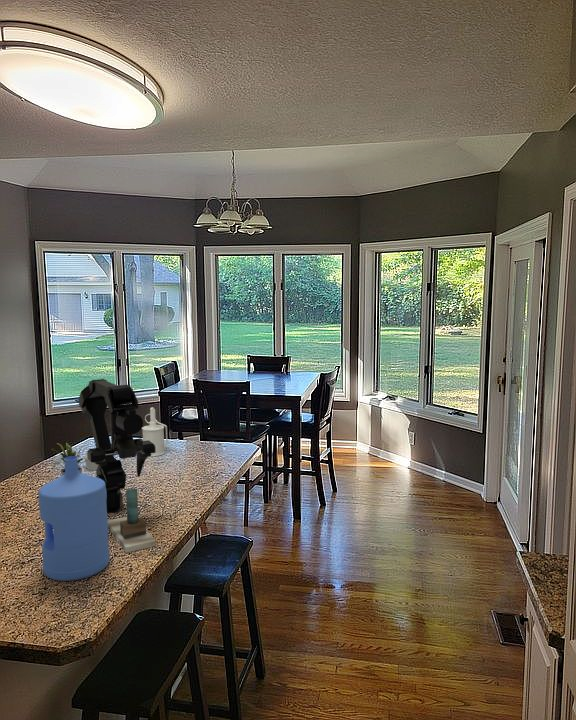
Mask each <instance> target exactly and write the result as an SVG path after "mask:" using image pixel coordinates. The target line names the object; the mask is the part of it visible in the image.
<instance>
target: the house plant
mask: <svg viewBox="0 0 576 720" xmlns="http://www.w3.org/2000/svg"><path fill="white" fill-rule="evenodd" d="M56 444H57V445H58V446H60V449H61V450H62V452H59V455H60V456H61V457H60V458H59V460H62V461H63V462H61V461H57V462H54V464H53V465H52V467H53V466H56V465H57V464H58V465H60V466H62V465H61V464H63V465H64V466H62V467H63V468H62V469H61V470H60V474H61V476H63V475H64V474H65V460H64V458H66V457H70V456H77V457H78V465H79V466H78V471H79V473H82V474H83V472H82V471H83V467H82V466H81V464H83V463H84V462H85V459H84V457H83V458H79V457H80V456H82V455H83V454H82V453H83V452H84V451H85V450H86V449H88V448H90V447H91V446H87V447H85V448H84V449H83V450H82V448H83V446H84V445H81V447H80V448H79V450H78V452H77V451H73V448H72V447H73V445H69V444H68V442H66V443H65V448H66V449H65V448H64V446H63V445H62V444H60V443H57V442H56ZM81 450H82V451H81ZM52 451H53V452H56V454H58V450H56V449H53V448H52ZM79 453H80V454H79ZM83 460H84V461H83ZM86 461H87V460H86ZM79 463H81V464H79ZM85 463H86V462H85Z"/></svg>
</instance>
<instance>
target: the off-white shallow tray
mask: <svg viewBox="0 0 576 720" xmlns="http://www.w3.org/2000/svg"><path fill="white" fill-rule="evenodd" d="M107 520H108V530H110V531H111V534H113V536H114V538H115V539H116V540H117V542H118V543H119V544H120V547H121V548H122V549H123V551H124V552H125V554H127V553H131V552H135V551H139V550H144V549H147V548H151V547H156V545H157V544H156V543H157V542H156V541H157V540H156V539H155V538H154V537H153V535H151V533H150V532H149V531H148V529H146V534H144V535H140V536H135V537H131V538H127V539H124V538H123V536H122V535H121V533H120V521H125V520H127V516H124V517H123V516H122V517H118V518H114V519H107Z"/></svg>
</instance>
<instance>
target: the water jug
mask: <svg viewBox="0 0 576 720" xmlns="http://www.w3.org/2000/svg"><path fill="white" fill-rule="evenodd" d="M64 460H65V464H64V465H65V466H64V468H65V474H64V475H63V476H62V475H61V476H59V477H58V478H57V477H56V478H55V479H53V480H52V481H49V482H47V483H45V484H44V485H42V486H41V487H40V489H39V490H38V509H39V516H40V517H39V519H40V520H41V521H43V522H44V536H45V538H44V540H43V542H42V544H41V549H42V550H41V552H42V553H41V554H42V562H41V563H42V572H43V574H44V575H45V576H46V577H47V578H49V579H51V580H54V581H59V582H60V581H61V582H71V581H79V580H84V579H86V578H90V577H93V576H94V575H96V574H99V573H100V572H101V571H103V570H104V569H105V568H106V567H107V566H108V565H109V562H110V560H111V558H110V549H109V527H108V520H109V519H108V512H107V505H106V499H107V492H106V485H105V482H104V481H103V480H102V479H100V478H97V477H96V476H93V475H89V474H86V473H85V474H84V473H83V472H82V473H79V471H78V466H79V465H80V464H79V463H78V460H79V457H77V455H76V456H70V457H66V458H64ZM79 467H80V466H79Z"/></svg>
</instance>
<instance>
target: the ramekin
mask: <svg viewBox="0 0 576 720" xmlns="http://www.w3.org/2000/svg"><path fill="white" fill-rule="evenodd" d="M83 458H84V459H83V460H84V461H85V466H86V469H87V470H88V471H91V472H93V471H94V472H96V471H97V468H98V464H95V463H94V462H90V460H89V459H88V458H87V453H86V454H84V455H83ZM86 460H87V461H86Z"/></svg>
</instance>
